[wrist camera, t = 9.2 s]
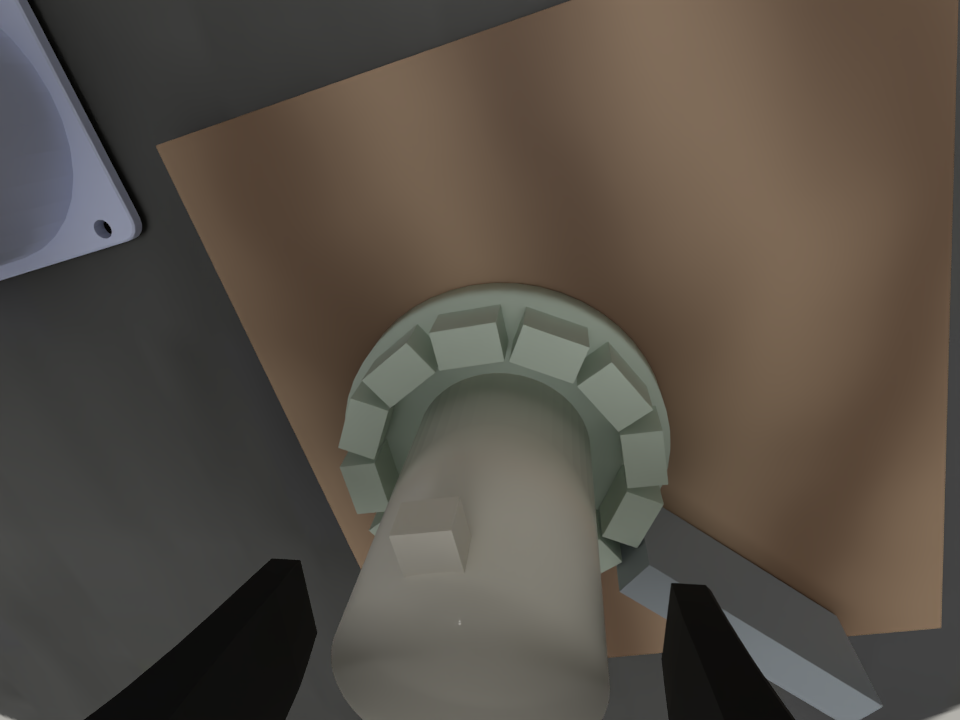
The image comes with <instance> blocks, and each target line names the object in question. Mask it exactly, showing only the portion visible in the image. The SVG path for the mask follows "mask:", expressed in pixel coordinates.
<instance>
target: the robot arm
mask: <svg viewBox="0 0 960 720" xmlns="http://www.w3.org/2000/svg"><path fill="white" fill-rule="evenodd" d="M104 221H105V222H107V223H108V224H109V226H110V227H111V230H112V234H110V233H108V232H107V230H106V229H105V227H104V224H103V223H104ZM141 231H142V223H141V220H140V217H139V215H138V213H137V211H136V209H135V207H134V205H133V203H132V201H131V200H130V198H129V196H128V194H127V192H126V190H125V188H124V186H123V184H122V182H121V180H120V178H119V176H118V174H117V173H116V171H115V169H114V167H113V165H112V163H111V161H110V159H109V157H108V155H107V153H106V151H105V149H104V147H103V146H102V144H101V142H100V140H99V138H98V136H97V134H96V132H95V130H94V128H93V126H92V124H91V122H90V121H89V119H88V117H87V115H86V113H85V111H84V109H83V107H82V105H81V103H80V101H79V99H78V97H77V95H76V94H75V92H74V90H73V88H72V86H71V84H70V82H69V80H68V78H67V76H66V74H65V72H64V70H63V68H62V67H61V65H60V63H59V61H58V59H57V57H56V55H55V53H54V51H53V49H52V47H51V45H50V43H49V42H48V40H47V38H46V36H45V34H44V32H43V30H42V28H41V26H40V24H39V22H38V20H37V18H36V16H35V15H34V13H33V11H32V9H31V7H30V5H29V3H28V1H27V0H0V281H1V280H4V279H7V278H10V277H14V276H17V275H20V274H23V273H27V272H30V271H33V270H36V269H40V268H43V267H46V266H49V265H53V264H56V263H59V262H62V261H65V260H69V259H72V258H75V257H78V256H82V255H85V254H88V253H91V252H95V251H98V250H101V249H104V248H108V247H111V246H114V245H117V244H121V243H124V242H127V241H130V240H132V239H135V238H136V237H138V236H139V235H140V233H141ZM316 635H317V630H316V626H315V621H314V617H313V613H312V608H311V604H310V600H309V595H308V591H307V587H306V583H305V578H304V574H303V570H302V565H301V561H300V560H287V559H271V560H270V561H269V562H268V563H266V564H265V565H264V566H263V567H262V568H261V569H260V570H259V571H258V572H257V573H255V574H254V575H253V576H252V577H251V578H250V579H249V580H248V581H247V582H246V583H245V584H243V585H242V586H241V587H240V588H239V589H238V590H237V591H236V592H235V593H234V594H233V595H232V596H231V597H229V598H228V599H227V600H226V601H225V602H224V603H223V604H222V605H221V606H220V607H219V608H218V609H216V610H215V611H214V612H213V613H212V614H211V615H210V616H209V617H208V618H207V619H205V620H204V621H203V622H202V623H201V624H200V625H199V626H198V627H197V628H195V629H194V630H193V631H192V632H191V633H190V634H189V635H188V636H186V637H185V638H184V639H183V640H182V641H181V642H180V643H179V644H178V645H176V646H175V647H174V648H173V649H172V650H171V651H169V652H168V653H167V654H166V655H165V656H163V657H162V658H161V659H160V660H159V661H157V662H156V663H155V664H154V665H153V666H151V667H150V668H149V669H148V670H147V671H145V672H144V673H143V674H142V675H141V676H139V677H138V678H137V679H136V680H135V681H134V682H132V683H131V684H130V685H129V686H128V687H126V688H125V689H124V690H122V691H121V692H120V693H119V694H117V695H116V696H115V697H114V698H112V699H111V700H110V701H108V702H107V703H106V704H104V705H103V706H102V707H101V708H99V709H98V710H97V711H95V712H94V713H92V714H91V715H90V716H88V717H87V718H86V719H84V720H285V719H286V717H287V715H288V713H289V710H290V708H291V706H292V703H293V701H294V699H295V697H296V694H297V692H298V690H299V687H300V685H301V682H302V679H303V676H304V673H305V670H306V667H307V664H308V661H309V658H310V654H311V651H312V648H313V645H314V641H315V638H316ZM662 667H663V676H664V685H665V693H666V701H667V709H668V717H669V720H795V719H794V717H793V716H792V715H791V713H790V712H789V710H788V709H787V708H786V706H785V705H784V703H783V702H782V701H781V699H780V698H779V696H778V695H777V693H776V692H775V691H774V689H773V688H772V686H771V685H770V683H769V682H768V681H767V679H766V678H765V676H764V675H763V673H762V672H761V670H760V669H759V667H758V666H757V664H756V663H755V661H754V660H753V658H752V657H751V655H750V654H749V652H748V651H747V649H746V648H745V646H744V644H743V643H742V641H741V640H740V638H739V637H738V635H737V633H736V632H735V630H734V629H733V627H732V625H731V624H730V622H729V620H728V619H727V617H726V615H725V614H724V612H723V610H722V609H721V607H720V605H719V603H718V602H717V600H716V598H715V596H714V595H713V593H712V591H711V590H710V589H709V588H708V587H707V586H706V585H698V584H682V583H671V588H670V596H669V604H668V612H667V620H666V628H665V636H664V644H663V652H662Z"/></svg>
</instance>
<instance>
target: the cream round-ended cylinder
mask: <svg viewBox="0 0 960 720" xmlns="http://www.w3.org/2000/svg"><path fill="white" fill-rule="evenodd" d="M331 664H332V669H333V674H334V677H335V680H336V682H337V685H338V687H339V689H340V691H341V693H342V695H343V696H344V698H345V699H346V701H347V702H348V703H349V705H350V706H351V707H352V709H353V710H354V711H355V712H356V713H357V714H358V715H359V716H360V717H361V718H362V719H363V720H602V718H603V717H604V715H605V712H606V709H607V706H608V703H609V696H610V682H609V669H608V657H607V645H606V633H605V620H604V608H603V596H602V584H601V571H600V559H599V547H598V535H597V522H596V510H595V498H594V486H593V473H592V461H591V449H590V439H589V435H588V431H587V428H586V426H585V424H584V421H583V420H582V418H581V416H580V415H579V413H578V411H577V410H576V409H575V408H574V406H573V405H572V404H571V403H570V402H569V401H568V400H567V399H566V398H565V397H564V396H563V395H561V394H560V393H559V392H557V391H556V390H554V389H553V388H551V387H549V386H548V385H546V384H544V383H542V382H539V381H537V380H534V379H532V378H528V377H525V376H521V375H515V374H509V373H490V374H482V375H477V376H472V377H469V378H467V379H464V380H461V381H459V382H457V383H455V384H453V385H451V386H450V387H448V388H447V389H445V390H444V391H443V392H442V393H440V394H439V395H438V396H437V397H436V398H435V399H434V400H433V402H432V403H431V404H430V405H429V407H428V408H427V410H426V412H425V414H424V416H423V418H422V421H421V423H420V426H419V428H418V431H417V433H416V436H415V438H414V440H413V443H412V445H411V448H410V450H409V453H408V455H407V458H406V460H405V463H404V465H403V468H402V470H401V473H400V475H399V478H398V480H397V482H396V485H395V487H394V490H393V492H392V495H391V497H390V500H389V502H388V505H387V507H386V510H385V512H384V515H383V517H382V520H381V522H380V525H379V527H378V529H377V532H376V534H375V537H374V539H373V542H372V544H371V547H370V549H369V552H368V554H367V557H366V559H365V562H364V564H363V567H362V569H361V571H360V574H359V576H358V579H357V581H356V584H355V586H354V589H353V591H352V594H351V596H350V599H349V601H348V604H347V606H346V609H345V611H344V613H343V616H342V618H341V621H340V623H339V626H338V628H337V631H336V633H335V636H334V638H333V643H332V648H331Z"/></svg>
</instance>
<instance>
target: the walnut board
mask: <svg viewBox="0 0 960 720" xmlns="http://www.w3.org/2000/svg"><path fill="white" fill-rule="evenodd" d="M957 31H958V0H571V1H568V2H565V3H562V4H559V5H556V6H553V7H551V8H548V9H545V10H542V11H539V12H536V13H533V14H531V15H528V16H525V17H522V18H519V19H516V20H513V21H511V22H508V23H505V24H502V25H499V26H496V27H493V28H491V29H488V30H485V31H482V32H479V33H476V34H473V35H471V36H468V37H465V38H462V39H459V40H456V41H453V42H451V43H448V44H445V45H442V46H439V47H436V48H433V49H431V50H428V51H425V52H422V53H419V54H416V55H413V56H411V57H408V58H405V59H402V60H399V61H396V62H393V63H391V64H388V65H385V66H382V67H379V68H376V69H373V70H371V71H368V72H365V73H362V74H359V75H356V76H353V77H351V78H348V79H345V80H342V81H339V82H336V83H333V84H331V85H328V86H325V87H322V88H319V89H316V90H313V91H311V92H308V93H305V94H302V95H299V96H296V97H293V98H291V99H288V100H285V101H282V102H279V103H276V104H273V105H271V106H268V107H265V108H262V109H259V110H256V111H253V112H251V113H248V114H245V115H242V116H239V117H236V118H233V119H231V120H228V121H225V122H222V123H219V124H216V125H213V126H211V127H208V128H205V129H202V130H199V131H196V132H193V133H191V134H188V135H185V136H182V137H179V138H176V139H173V140H171V141H168V142H165V143H162V144H159V145H156V148H157V150H158V152H159V154H160V156H161V158H162V160H163V162H164V164H165V166H166V168H167V170H168V172H169V175H170V177H171V179H172V181H173V183H174V185H175V187H176V189H177V191H178V193H179V195H180V197H181V199H182V201H183V203H184V205H185V208H186V210H187V212H188V214H189V216H190V218H191V220H192V222H193V224H194V226H195V228H196V230H197V232H198V234H199V236H200V238H201V241H202V243H203V245H204V247H205V249H206V251H207V253H208V255H209V257H210V259H211V261H212V263H213V265H214V267H215V269H216V271H217V274H218V276H219V278H220V280H221V282H222V284H223V286H224V288H225V290H226V292H227V294H228V296H229V298H230V300H231V302H232V304H233V307H234V309H235V311H236V313H237V315H238V317H239V319H240V321H241V323H242V325H243V327H244V329H245V331H246V333H247V335H248V337H249V339H250V342H251V344H252V346H253V348H254V350H255V352H256V354H257V356H258V358H259V360H260V362H261V364H262V366H263V368H264V370H265V372H266V375H267V377H268V379H269V381H270V383H271V385H272V387H273V389H274V391H275V393H276V395H277V397H278V399H279V401H280V403H281V405H282V408H283V410H284V412H285V414H286V416H287V418H288V420H289V422H290V424H291V426H292V428H293V430H294V432H295V434H296V436H297V438H298V441H299V443H300V445H301V447H302V449H303V451H304V453H305V455H306V457H307V459H308V461H309V463H310V465H311V467H312V469H313V471H314V473H315V476H316V478H317V480H318V482H319V484H320V486H321V488H322V490H323V492H324V494H325V496H326V498H327V500H328V502H329V504H330V506H331V509H332V511H333V513H334V515H335V517H336V519H337V521H338V523H339V525H340V527H341V529H342V531H343V533H344V535H345V537H346V539H347V542H348V544H349V546H350V548H351V550H352V552H353V554H354V556H355V558H356V560H357V562H358V564H359V566H360V568H361V569H362V567H363V564H364V562H365V559H366V557H367V554H368V552H369V549H370V547H371V544H372V542H373V539H374V537H375V535H373V534H372V533H371V532H370V531H369V529H370V527H371V524H372V522H373V520H374V517H375V515H376V513H377V512H375V513H364V514H357V512H356V510H355V507H354V504H353V502H352V499H351V496H350V494H349V491H348V488H347V486H346V483H345V480H344V478H343V475H342V472H341V470H340V466H341V464H342V462H343V460H344V459H345V457H346V455H347V453H348V451H346V450H343V449H340V448H338V447H339V442H340V438H341V434H342V430H343V426H344V422H345V413H346V407H347V401H348V396H349V393H350V390H351V387H352V384H353V381H354V379H355V377H356V375H357V373H358V371H359V369H360V367H361V365H362V363H363V362H364V360H365V359H366V358H367V356H368V355H369V353H370V352H371V350H372V349H373V347H374V346H375V345H376V343H377V342H378V341H379V339H380V338H381V337H382V335H383V334H384V333H385V332H386V331H387V330H388V329H389V328H390V327H391V326H392V325H393V324H394V323H395V322H396V321H397V320H398V319H399V318H400V317H402V316H403V315H404V314H406V313H407V312H408V311H410V310H411V309H412V308H414V307H415V306H417V305H419V304H421V303H423V302H425V301H426V300H428V299H430V298H432V297H435V296H437V295H440V294H442V293H445V292H448V291H450V290H454V289H458V288H462V287H467V286H471V285H479V284H488V283H518V284H525V285H532V286H538V287H542V288H546V289H550V290H553V291H557V292H560V293H563V294H565V295H568V296H570V297H573V298H575V299H577V300H580V301H582V302H584V303H586V304H587V305H589V306H591V307H592V308H594V309H596V310H598V311H599V312H601V313H602V314H604V315H605V316H606V317H608V318H609V319H610V320H611V321H613V322H614V323H615V324H617V325H618V326H619V327H620V328H621V329H622V330H623V331H624V332H625V333H626V334H627V335H628V336H629V337H630V338H631V339H632V340H633V341H634V343H635V344H636V346H637V347H638V348H639V350H640V351H641V352H642V354H643V355H644V356H645V358H646V360H647V362H648V364H649V365H650V367H651V369H652V371H653V373H654V375H655V378H656V381H657V384H658V386H659V389H660V392H661V395H662V398H663V401H664V405H665V408H666V411H667V416H668V422H669V427H670V456H669V463H668V468H667V476H668V485H662V487H661V489H660V491H661V495H662V499H663V503H664V505H663V506H662V507H663V508H665V509H666V510H668V511H670V512H671V513H673V514H674V515H676V516H678V517H679V518H681V519H682V520H684V521H686V522H687V523H689V524H690V525H692V526H694V527H695V528H697V529H698V530H700V531H702V532H703V533H705V534H706V535H708V536H710V537H711V538H713V539H714V540H716V541H718V542H719V543H721V544H722V545H724V546H726V547H727V548H729V549H730V550H732V551H734V552H735V553H737V554H738V555H740V556H742V557H743V558H745V559H746V560H748V561H750V562H751V563H753V564H754V565H756V566H757V567H759V568H761V569H762V570H764V571H765V572H767V573H769V574H770V575H772V576H773V577H775V578H777V579H778V580H780V581H781V582H783V583H785V584H786V585H788V586H789V587H791V588H793V589H794V590H796V591H797V592H799V593H801V594H802V595H804V596H805V597H807V598H809V599H810V600H812V601H813V602H815V603H817V604H818V605H820V606H821V607H823V608H825V609H826V610H828V611H829V612H831V613H833V614H834V615H836V616H837V618H838V620H839V622H840V624H841V625H842V627H843V629H844V631H845V633H846V635H847V636H856V635H867V634H878V633H890V632H901V631H912V630H923V629H934V628H941V612H942V576H943V540H944V503H945V467H946V431H947V394H948V358H949V322H950V285H951V249H952V212H953V176H954V140H955V103H956V67H957ZM601 584H602V596H603V608H604V620H605V633H606V645H607V657H608V658H610V657H621V656H632V655H643V654H655V653H662V652H663V644H664V636H665V628H666V620H667V619H665V618H663V617H661V616H660V615H658V614H656V613H655V612H653V611H651V610H650V609H648V608H646V607H645V606H643V605H641V604H640V603H638V602H636V601H634V600H633V599H631V598H629V597H628V596H626V595H624V594H623V593H621V592H619V584H618V575H617V566H614V567H612V568H610V569H608V570H606V571H605V572H603V573H601Z"/></svg>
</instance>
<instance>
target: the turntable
mask: <svg viewBox="0 0 960 720" xmlns="http://www.w3.org/2000/svg"><path fill="white" fill-rule="evenodd" d="M490 373H509V374H515V375H521V376H525V377H528V378H532V379H534V380H537V381H539V382H542V383H544V384H546V385H548V386H549V387H551V388H553V389H554V390H556V391H557V392H559V393H560V394H561V395H563V396H564V397H565V398H566V399H567V400H568V401H569V402H570V403H571V404H572V405H573V406H574V408H575V409H576V410H577V411H578V413H579V415H580V416H581V418H582V420H583V421H584V424H585V426H586V428H587V431H588V435H589V439H590V449H591V461H592V473H593V486H594V498H595V510H596V522H597V535H598V547H599V559H600V571H601V573H603V572H605V571H606V570H608V569H610V568H612V567H614V566H617V575H618V584H619V592H621V593H623V594H624V595H626V596H628V597H629V598H631V599H633V600H634V601H636V602H638V603H640V604H641V605H643V606H645V607H646V608H648V609H650V610H651V611H653V612H655V613H656V614H658V615H660V616H661V617H663V618H665V619H667V612H668V604H669V596H670V588H671V583H682V584H698V585H706V586H707V587H708V588H709V589H710V590H711V591H712V593H713V595H714V596H715V598H716V600H717V602H718V603H719V605H720V607H721V609H722V610H723V612H724V614H725V615H726V617H727V619H728V620H729V622H730V624H731V625H732V627H733V629H734V630H735V632H736V633H737V635H738V637H739V638H740V640H741V641H742V643H743V644H744V646H745V648H746V649H747V651H748V652H749V654H750V655H751V657H752V658H753V660H754V661H755V663H756V664H757V666H758V667H759V669H760V670H761V672H762V673H763V675H764V676H765V678H766V679H768V680H769V681H771V682H773V683H775V684H776V685H778V686H780V687H781V688H783V689H785V690H786V691H788V692H790V693H791V694H793V695H795V696H796V697H798V698H800V699H802V700H803V701H805V702H807V703H808V704H810V705H812V706H813V707H815V708H817V709H818V710H820V711H822V712H823V713H825V714H827V715H829V716H830V717H832V718H834V719H835V720H860V719H862V718H864V717H866V716H867V715H869V714H871V713H873V712H874V711H876V710H878V709H879V708H881V707H883V705H882V703H881V701H880V700H879V698H878V696H877V694H876V692H875V690H874V688H873V686H872V684H871V682H870V680H869V678H868V676H867V674H866V672H865V670H864V668H863V666H862V664H861V662H860V661H859V659H858V657H857V655H856V653H855V651H854V649H853V647H852V645H851V643H850V641H849V639H848V637H847V635H846V633H845V631H844V629H843V627H842V625H841V624H840V622H839V620H838V618H837V616H836V615H834V614H833V613H831V612H829V611H828V610H826V609H825V608H823V607H821V606H820V605H818V604H817V603H815V602H813V601H812V600H810V599H809V598H807V597H805V596H804V595H802V594H801V593H799V592H797V591H796V590H794V589H793V588H791V587H789V586H788V585H786V584H785V583H783V582H781V581H780V580H778V579H777V578H775V577H773V576H772V575H770V574H769V573H767V572H765V571H764V570H762V569H761V568H759V567H757V566H756V565H754V564H753V563H751V562H750V561H748V560H746V559H745V558H743V557H742V556H740V555H738V554H737V553H735V552H734V551H732V550H730V549H729V548H727V547H726V546H724V545H722V544H721V543H719V542H718V541H716V540H714V539H713V538H711V537H710V536H708V535H706V534H705V533H703V532H702V531H700V530H698V529H697V528H695V527H694V526H692V525H690V524H689V523H687V522H686V521H684V520H682V519H681V518H679V517H678V516H676V515H674V514H673V513H671V512H670V511H668V510H666V509H665V508H663V507H662V506H663V505H664V503H663V499H662V495H661V491H660V489H661V487H662V485H668V476H667V468H668V463H669V456H670V427H669V422H668V416H667V411H666V408H665V405H664V401H663V398H662V395H661V392H660V389H659V386H658V384H657V381H656V378H655V375H654V373H653V371H652V369H651V367H650V365H649V364H648V362H647V360H646V358H645V356H644V355H643V354H642V352H641V351H640V350H639V348H638V347H637V346H636V344H635V343H634V341H633V340H632V339H631V338H630V337H629V336H628V335H627V334H626V333H625V332H624V331H623V330H622V329H621V328H620V327H619V326H618V325H617V324H615V323H614V322H613V321H611V320H610V319H609V318H608V317H606V316H605V315H604V314H602V313H601V312H599V311H598V310H596V309H594V308H592V307H591V306H589V305H587V304H586V303H584V302H582V301H580V300H577V299H575V298H573V297H570V296H568V295H565V294H563V293H560V292H557V291H553V290H550V289H546V288H542V287H538V286H532V285H525V284H518V283H488V284H479V285H471V286H467V287H462V288H458V289H454V290H450V291H448V292H445V293H442V294H440V295H437V296H435V297H432V298H430V299H428V300H426V301H425V302H423V303H421V304H419V305H417V306H415V307H414V308H412V309H411V310H410V311H408V312H407V313H406V314H404V315H403V316H402V317H400V318H399V319H398V320H397V321H396V322H395V323H394V324H393V325H392V326H391V327H390V328H389V329H388V330H387V331H386V332H385V333H384V334H383V335H382V337H381V338H380V339H379V341H378V342H377V343H376V345H375V346H374V347H373V349H372V350H371V352H370V353H369V355H368V356H367V358H366V359H365V360H364V362H363V363H362V365H361V367H360V369H359V371H358V373H357V375H356V377H355V379H354V381H353V384H352V387H351V390H350V393H349V396H348V401H347V407H346V413H345V422H344V426H343V430H342V434H341V438H340V442H339V447H338V448H340V449H343V450H346V451H348V453H347V455H346V457H345V459H344V460H343V462H342V464H341V466H340V470H341V472H342V475H343V478H344V480H345V483H346V486H347V488H348V491H349V494H350V496H351V499H352V502H353V504H354V507H355V510H356V512H357V514H364V513H375V512H377V513H376V515H375V517H374V520H373V522H372V524H371V527H370V529H369V531H370V532H371V533H372V534H373V535H375V534H376V532H377V529H378V527H379V525H380V522H381V520H382V517H383V515H384V512H385V510H386V507H387V505H388V502H389V500H390V497H391V495H392V492H393V490H394V487H395V485H396V482H397V480H398V478H399V475H400V473H401V470H402V468H403V465H404V463H405V460H406V458H407V455H408V453H409V450H410V448H411V445H412V443H413V440H414V438H415V436H416V433H417V431H418V428H419V426H420V423H421V421H422V418H423V416H424V414H425V412H426V410H427V408H428V407H429V405H430V404H431V403H432V402H433V400H434V399H435V398H436V397H437V396H438V395H439V394H440V393H442V392H443V391H444V390H445V389H447V388H448V387H450V386H451V385H453V384H455V383H457V382H459V381H461V380H464V379H467V378H469V377H472V376H477V375H482V374H490Z"/></svg>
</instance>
